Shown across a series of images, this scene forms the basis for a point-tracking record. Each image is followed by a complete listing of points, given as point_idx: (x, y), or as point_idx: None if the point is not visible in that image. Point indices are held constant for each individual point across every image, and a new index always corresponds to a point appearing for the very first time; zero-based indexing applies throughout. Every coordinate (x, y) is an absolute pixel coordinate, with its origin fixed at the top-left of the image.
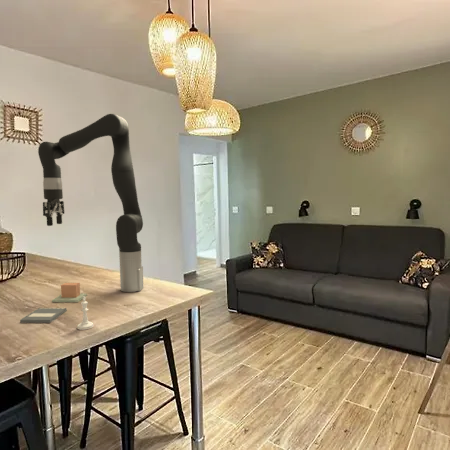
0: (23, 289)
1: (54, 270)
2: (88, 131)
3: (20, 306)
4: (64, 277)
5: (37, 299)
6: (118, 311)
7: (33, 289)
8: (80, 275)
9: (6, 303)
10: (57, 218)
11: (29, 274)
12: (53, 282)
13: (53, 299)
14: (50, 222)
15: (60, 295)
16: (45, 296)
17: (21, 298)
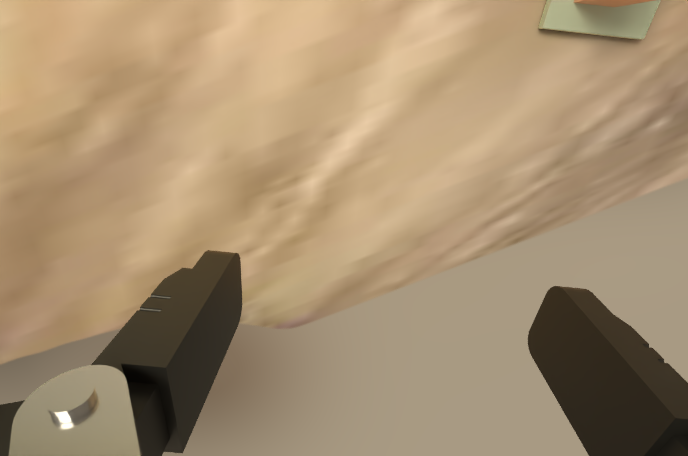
0: (396, 235)
1: (91, 237)
2: None
3: (635, 153)
4: (208, 146)
5: (560, 126)
6: None
7: (402, 200)
8: (160, 76)
9: (572, 216)
10: (206, 379)
11: None
12: (298, 162)
13: (636, 36)
14: (631, 338)
15: (577, 26)
16: (525, 109)
17: (523, 193)
